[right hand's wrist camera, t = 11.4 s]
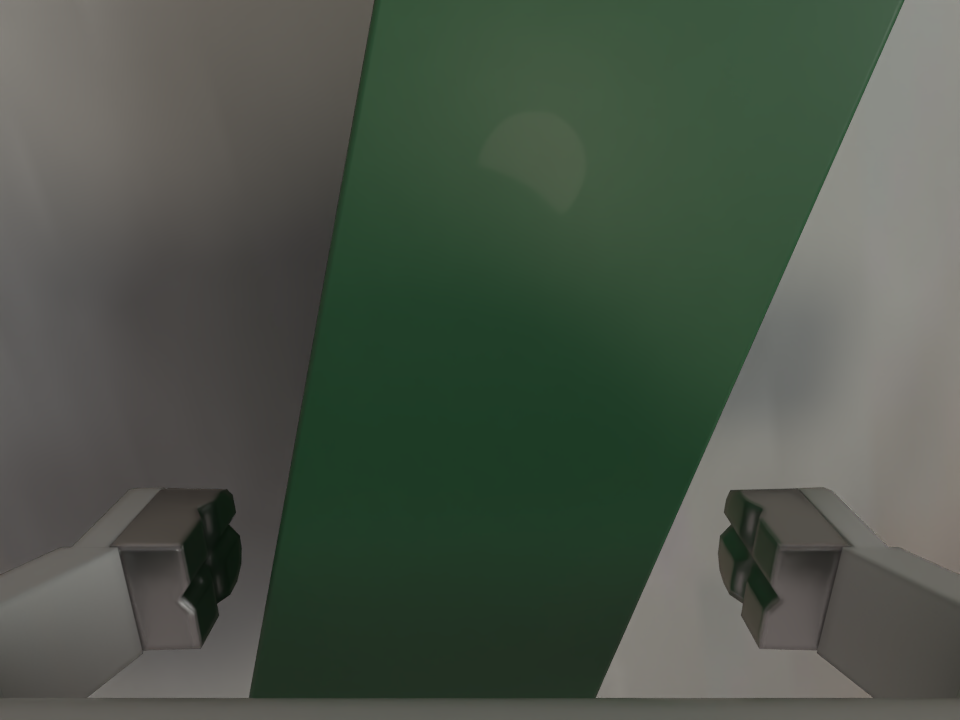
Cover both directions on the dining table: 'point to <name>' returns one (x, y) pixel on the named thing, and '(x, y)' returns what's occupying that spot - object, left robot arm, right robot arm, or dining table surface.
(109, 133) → the dining table surface
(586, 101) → the elongated green cuboid
